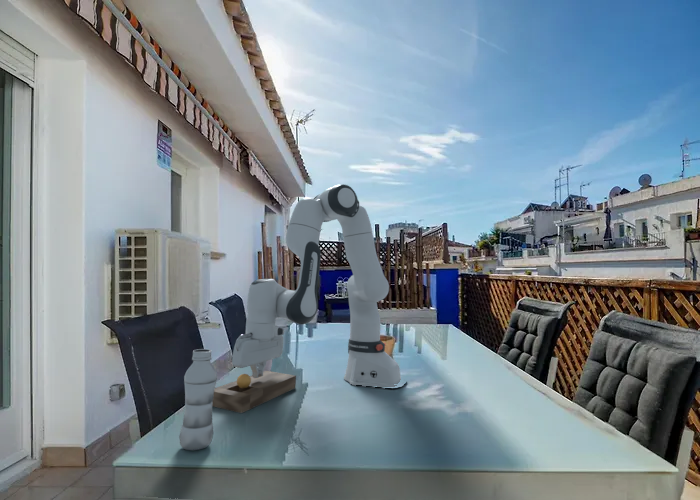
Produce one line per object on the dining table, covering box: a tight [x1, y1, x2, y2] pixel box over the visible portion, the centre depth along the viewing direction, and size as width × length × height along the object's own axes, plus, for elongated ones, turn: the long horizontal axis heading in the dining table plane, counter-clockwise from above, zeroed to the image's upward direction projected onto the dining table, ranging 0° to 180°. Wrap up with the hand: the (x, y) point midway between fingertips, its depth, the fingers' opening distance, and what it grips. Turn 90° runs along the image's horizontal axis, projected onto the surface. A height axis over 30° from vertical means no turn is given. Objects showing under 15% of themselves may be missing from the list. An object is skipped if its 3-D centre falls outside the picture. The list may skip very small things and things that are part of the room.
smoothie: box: [263, 359, 274, 372], centre depth 143 cm, size 6×6×14 cm
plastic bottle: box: [178, 348, 218, 451], centre depth 79 cm, size 6×7×20 cm
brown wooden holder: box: [212, 370, 297, 414], centre depth 113 cm, size 12×26×4 cm, turn 155°
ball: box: [236, 373, 251, 388], centre depth 109 cm, size 4×4×4 cm
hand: (257, 377), depth 115 cm, fingers closed
